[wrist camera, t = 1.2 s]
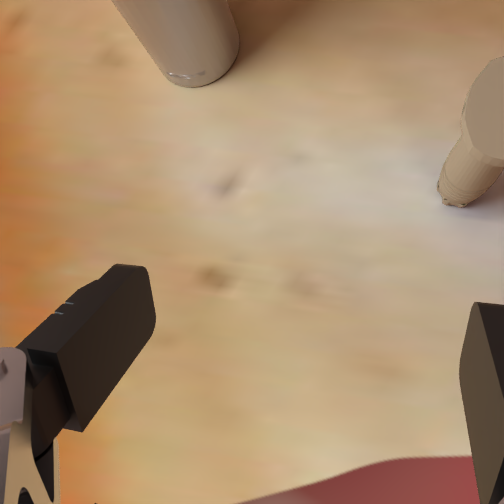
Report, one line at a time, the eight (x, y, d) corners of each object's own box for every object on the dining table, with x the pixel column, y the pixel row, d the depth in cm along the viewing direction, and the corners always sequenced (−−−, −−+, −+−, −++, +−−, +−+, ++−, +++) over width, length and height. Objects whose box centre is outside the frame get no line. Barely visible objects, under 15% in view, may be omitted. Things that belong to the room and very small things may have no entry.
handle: (419, 220, 40) (456, 152, 26) (434, 153, 41) (477, 51, 27) (477, 231, 39) (550, 167, 25) (491, 162, 40) (570, 60, 25)
